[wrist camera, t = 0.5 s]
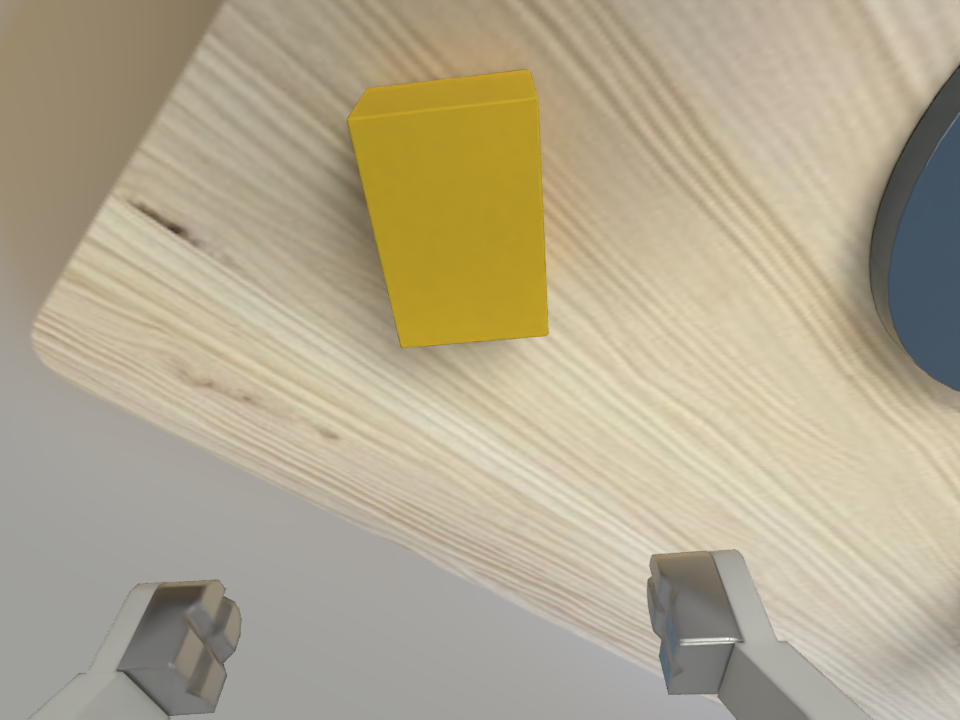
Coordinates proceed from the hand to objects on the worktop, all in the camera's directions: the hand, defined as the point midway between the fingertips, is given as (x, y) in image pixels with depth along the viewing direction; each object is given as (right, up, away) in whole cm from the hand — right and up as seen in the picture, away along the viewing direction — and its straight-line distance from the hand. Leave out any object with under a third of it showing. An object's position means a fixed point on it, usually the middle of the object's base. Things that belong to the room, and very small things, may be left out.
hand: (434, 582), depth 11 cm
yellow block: (0, +11, +13) cm, 17 cm away
